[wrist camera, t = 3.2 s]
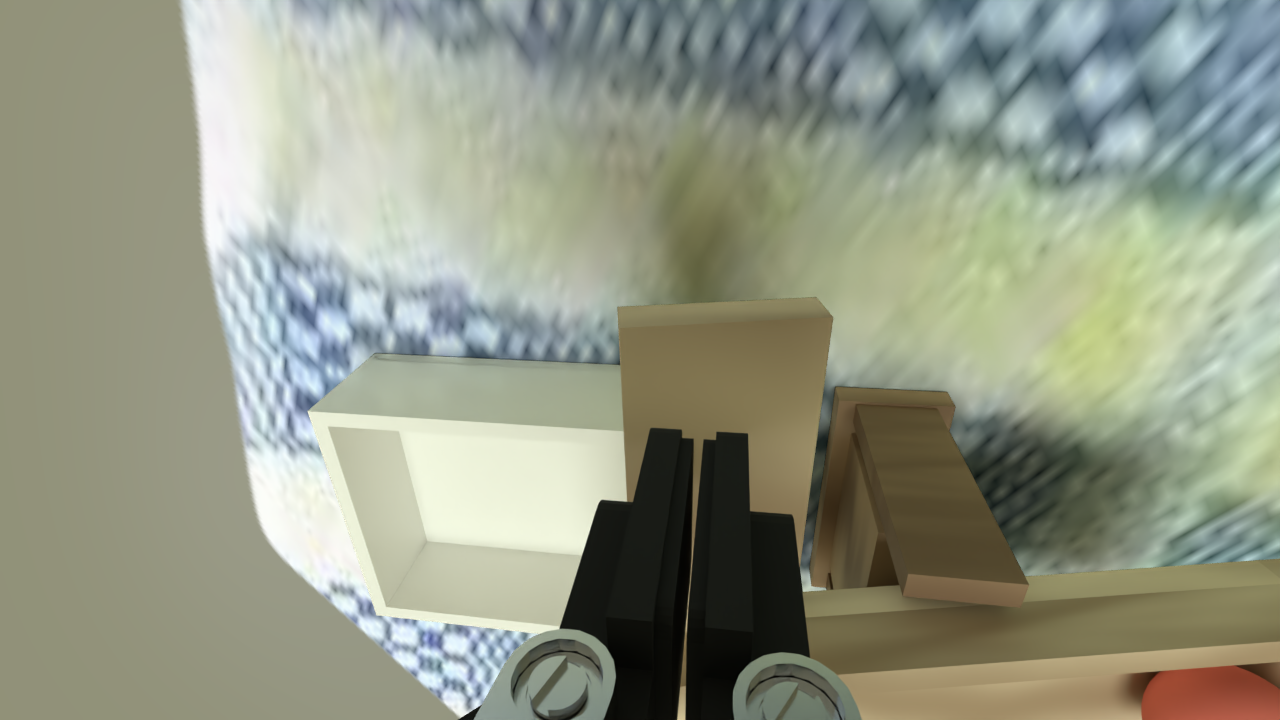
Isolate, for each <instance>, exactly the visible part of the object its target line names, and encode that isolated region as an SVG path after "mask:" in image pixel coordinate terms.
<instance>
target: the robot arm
mask: <svg viewBox="0 0 1280 720" xmlns="http://www.w3.org/2000/svg"><path fill="white" fill-rule="evenodd" d="M693 462H694V438H682V429H666V428H650V431H649V435H648V440H647V444H646V448H645V452H644V457H643V461H642V465H641V469H640V474H639V478H638V482H637V486H636V491H635V495H634V499H633V502H625V501H612V500H601V501H600V502H599V504H598V506H597V509H596V512H595V515H594V519H593V522H592V525H591V528H590V531H589V535H588V538H587V541H586V544H585V548H584V551H583V554H582V557H581V560H580V564H579V567H578V570H577V573H576V577H575V580H574V583H573V586H572V589H571V593H570V596H569V599H568V602H567V606H566V609H565V612H564V615H563V618H562V622H561V625H560V628H559V629H557V630H551V631H546V632H543V633H541V634H539V635H536V636H534V637H532V638H530V639H528V640H527V641H526V642H524V643H523V644H522V645H521V646H519V647H518V648H517V649H516V650H515V651H514V652H513V653H512V655H511V656H510V657H509V659H508V660H507V661H506V663H505V664H504V666H503V668H502V669H501V671H500V673H499V675H498V677H497V678H496V680H495V682H494V684H493V686H492V687H491V689H490V691H489V693H488V695H487V696H486V698H485V700H484V702H483V704H482V705H481V706H479V707H478V708H476V709H474V710H473V711H471V712H470V713H468V714H466V715H465V716H463V717H462V718H460V719H458V720H677V717H678V707H679V696H680V685H681V674H682V663H683V652H684V641H685V630H686V619H687V609H688V619H687V642H686V707H685V720H862V718H861V715H860V712H859V709H858V706H857V704H856V702H855V700H854V698H853V696H852V694H851V692H850V690H849V688H848V687H847V686H846V685H845V684H844V683H843V681H842V680H841V679H840V678H839V677H838V676H837V675H836V674H835V673H834V672H833V671H831V670H830V669H829V668H827V667H826V666H824V665H823V664H821V663H820V662H818V661H816V660H813V659H811V658H810V651H809V642H808V634H807V625H806V617H805V608H804V600H803V591H802V583H801V574H800V566H799V557H798V549H797V540H796V532H795V524H794V518H793V515H792V514H781V513H768V512H755V511H750V486H749V446H748V433H733V432H717V431H716V440H710V439H704V440H703V450H702V461H701V472H700V483H699V494H698V505H697V516H696V527H695V538H694V549H693V560H692V514H693ZM691 560H692V571H691ZM690 576H691V582H690ZM689 587H690V593H689ZM688 598H689V605H688Z"/></svg>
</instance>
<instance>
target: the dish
mask: <svg viewBox="0 0 1280 720" xmlns="http://www.w3.org/2000/svg"><path fill="white" fill-rule="evenodd" d="M308 414H309V417H310V420H311V423H312V426H313V429H314V432H315V434H316V437H317V440H318V443H319V446H320V449H321V452H322V455H323V458H324V461H325V464H326V467H327V470H328V473H329V476H330V479H331V482H332V485H333V488H334V491H335V494H336V497H337V499H338V502H339V505H340V508H341V511H342V514H343V517H344V520H345V523H346V526H347V529H348V532H349V535H350V538H351V541H352V544H353V547H354V550H355V553H356V556H357V559H358V561H359V564H360V567H361V570H362V573H363V576H364V579H365V582H366V585H367V588H368V591H369V594H370V597H371V600H372V603H373V606H374V609H375V612H376V615H380V616H389V617H397V618H406V619H415V620H424V621H432V622H441V623H450V624H459V625H467V626H476V627H485V628H493V629H502V630H511V631H520V632H528V633H537V634H541V633H543V632H546V631H551V630H557V629H559V628H560V625H561V622H562V618H563V615H564V612H565V609H566V606H567V602H568V599H569V596H570V593H571V589H572V586H573V583H574V580H575V577H576V573H577V570H578V567H579V564H580V560H581V557H582V554H583V551H584V548H585V544H586V541H587V538H588V535H589V531H590V528H591V525H592V522H593V519H594V515H595V512H596V509H597V506H598V504H599V502H600V501H601V500H612V501H625V502H627V493H626V472H625V452H624V431H623V411H622V390H621V369H620V365H610V364H589V363H568V362H547V361H526V360H505V359H484V358H463V357H442V356H421V355H400V354H379V353H374V354H373V355H372V356H371V357H370V358H369V359H367V360H366V361H365V362H364V363H363V364H362V365H361V366H359V367H358V368H357V369H356V370H355V371H354V372H352V373H351V374H350V375H349V376H348V377H347V378H346V379H344V380H343V381H342V382H341V383H340V384H339V385H337V386H336V387H335V388H334V389H333V390H332V391H330V392H329V393H328V394H327V395H326V396H325V397H324V398H322V399H321V400H320V401H319V402H318V403H317V404H315V405H314V406H313V407H312V408H311V409H310V410H309V411H308Z"/></svg>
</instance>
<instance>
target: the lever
mask: <svg viewBox="0 0 1280 720" xmlns="http://www.w3.org/2000/svg"><path fill="white" fill-rule="evenodd" d="M617 308H618V328H619V349H620V369H621V390H622V411H623V431H624V452H625V472H626V493H627V502H633V499H634V495H635V491H636V486H637V482H638V478H639V474H640V469H641V465H642V461H643V457H644V452H645V448H646V444H647V440H648V435H649V431H650V428H666V429H682V438H694V462H693V514H692V560H693V549H694V538H695V527H696V516H697V505H698V494H699V483H700V472H701V461H702V450H703V440H704V439H710V440H716V431H717V432H733V433H748V446H749V486H750V511H755V512H768V513H781V514H792V515H793V518H794V524H795V532H796V540H797V549H798V557H799V566H800V562H801V554H802V547H803V539H804V532H805V524H806V517H807V509H808V502H809V494H810V487H811V479H812V472H813V464H814V457H815V449H816V442H817V435H818V427H819V420H820V412H821V405H822V397H823V390H824V382H825V375H826V367H827V360H828V352H829V345H830V337H831V330H832V322H833V316H832V315H831V314H830V313H829V312H828V310H827V309H826V308H825V307H824V306H823V305H822V303H821V302H820V301H819V300H818V299H817V297H808V298H788V299H767V300H747V301H727V302H706V303H686V304H666V305H645V306H625V307H617ZM692 560H691V571H692ZM1025 577H1026V579H1027V581H1028V583H1029V587H1028V590H1027V593H1026V595H1025V598H1024V600H1023V603H1022V605H1021V608H1018V607H1008V606H998V605H987V604H977V603H967V602H956V601H946V600H936V599H925V598H915V597H905V596H902V592H901V589H900V585H896V586H881V587H867V588H853V589H838V590H824V591H809V592H803V600H804V608H805V617H806V625H807V634H808V642H809V651H810V658H811V659H813V660H816V661H818V662H820V663H821V664H823V665H824V666H826V667H827V668H829V669H830V670H831V671H833V672H834V673H835V674H836V675H837V676H838V677H839V678H840V679H841V680H842V681H843V683H844V684H845V685H846V686H847V687H848V688H849V690H850V692H851V694H852V696H853V698H854V700H855V702H856V704H857V706H858V709H859V712H860V715H861V718H862V720H1142V715H1141V704H1142V699H1143V694H1144V692H1145V689H1146V687H1147V685H1148V684H1149V682H1150V681H1151V680H1152V678H1153V677H1154V676H1155V675H1156V674H1157V673H1159V672H1160V671H1167V670H1180V669H1193V668H1206V667H1219V666H1232V665H1234V666H1237V667H1239V668H1242V669H1245V670H1247V671H1250V672H1252V673H1254V674H1256V675H1258V676H1260V677H1261V678H1263V679H1265V680H1266V681H1268V682H1270V683H1271V684H1273V685H1275V686H1276V687H1277V688H1279V689H1280V559H1270V560H1255V561H1241V562H1227V563H1212V564H1198V565H1183V566H1169V567H1155V568H1140V569H1126V570H1112V571H1097V572H1083V573H1068V574H1054V575H1040V576H1025ZM690 582H691V576H690ZM689 593H690V587H689ZM688 605H689V598H688ZM687 619H688V609H687ZM687 619H686V630H685V641H684V652H683V663H682V674H681V685H680V696H679V707H678V717H677V720H685V707H686V642H687Z"/></svg>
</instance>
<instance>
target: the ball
mask: <svg viewBox="0 0 1280 720" xmlns="http://www.w3.org/2000/svg"><path fill="white" fill-rule="evenodd" d="M1141 715H1142V720H1280V689H1279V688H1277V687H1276V686H1275V685H1273V684H1271V683H1270V682H1268V681H1266V680H1265V679H1263V678H1261V677H1260V676H1258V675H1256V674H1254V673H1252V672H1250V671H1247V670H1245V669H1242V668H1239V667H1237V666H1234V665H1232V666H1219V667H1206V668H1193V669H1180V670H1167V671H1160V672H1159V673H1157V674H1156V675H1155V676H1154V677H1153V678H1152V680H1151V681H1150V682H1149V684H1148V685H1147V687H1146V689H1145V692H1144V694H1143V699H1142V704H1141Z"/></svg>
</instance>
